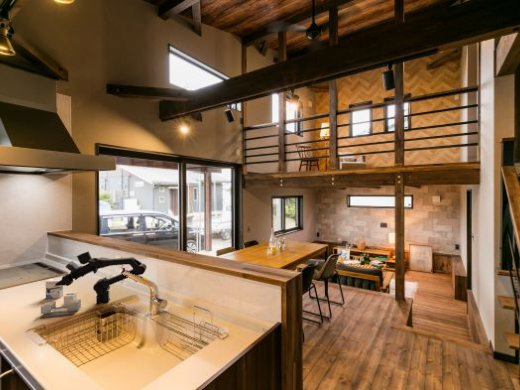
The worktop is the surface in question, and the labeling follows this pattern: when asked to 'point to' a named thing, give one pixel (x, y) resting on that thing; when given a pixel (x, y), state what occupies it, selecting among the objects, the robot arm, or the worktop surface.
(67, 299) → the logic module
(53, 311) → the din rail
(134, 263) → the robot arm
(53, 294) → the ink box
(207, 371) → the worktop surface
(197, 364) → the worktop surface
